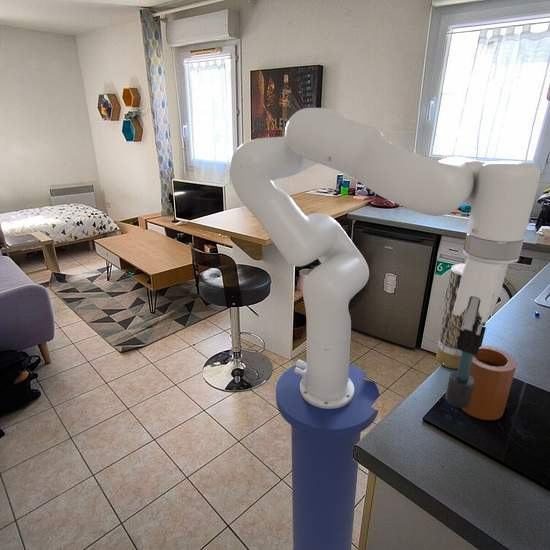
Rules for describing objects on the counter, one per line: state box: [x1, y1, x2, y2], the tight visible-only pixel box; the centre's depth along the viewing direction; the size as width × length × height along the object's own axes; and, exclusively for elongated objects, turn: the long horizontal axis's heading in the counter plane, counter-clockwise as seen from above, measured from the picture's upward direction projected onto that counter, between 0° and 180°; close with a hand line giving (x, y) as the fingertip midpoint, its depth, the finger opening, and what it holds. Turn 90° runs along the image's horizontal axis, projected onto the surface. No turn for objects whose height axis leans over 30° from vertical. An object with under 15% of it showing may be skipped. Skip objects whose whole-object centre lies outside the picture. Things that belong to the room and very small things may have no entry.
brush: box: [444, 321, 478, 409], centre depth 64 cm, size 4×4×17 cm
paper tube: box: [435, 263, 466, 370], centre depth 86 cm, size 7×7×25 cm
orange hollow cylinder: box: [460, 344, 518, 421], centre depth 75 cm, size 9×9×12 cm
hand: (468, 347), depth 62 cm, fingers closed on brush
